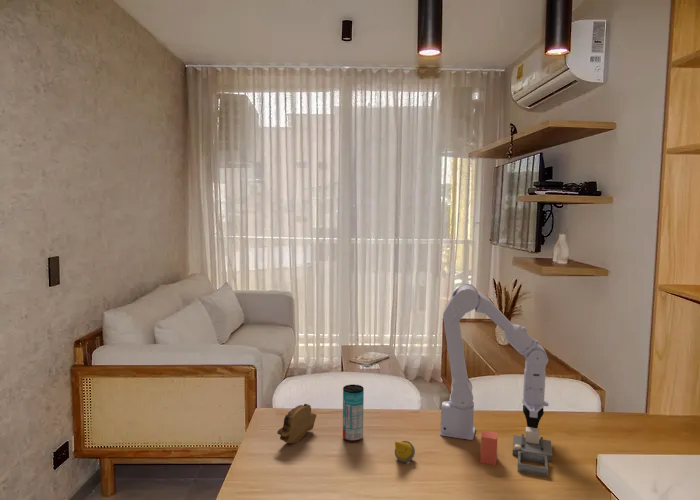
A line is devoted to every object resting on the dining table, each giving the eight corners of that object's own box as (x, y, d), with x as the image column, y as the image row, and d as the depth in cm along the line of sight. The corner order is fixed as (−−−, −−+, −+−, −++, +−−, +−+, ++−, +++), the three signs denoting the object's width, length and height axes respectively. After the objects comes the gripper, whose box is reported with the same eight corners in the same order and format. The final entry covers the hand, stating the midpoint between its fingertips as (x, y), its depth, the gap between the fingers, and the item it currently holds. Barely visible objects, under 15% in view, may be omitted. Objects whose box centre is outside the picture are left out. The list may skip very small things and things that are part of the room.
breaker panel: (512, 454, 140) (512, 446, 140) (513, 440, 149) (513, 432, 148) (552, 461, 137) (552, 452, 137) (550, 445, 145) (550, 438, 145)
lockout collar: (517, 471, 132) (517, 464, 131) (517, 458, 138) (518, 451, 138) (547, 476, 129) (547, 469, 129) (546, 462, 136) (546, 455, 136)
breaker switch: (525, 442, 144) (525, 431, 144) (525, 437, 147) (525, 426, 147) (539, 444, 143) (539, 433, 143) (538, 439, 146) (539, 428, 146)
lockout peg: (480, 462, 136) (481, 436, 135) (481, 455, 140) (482, 430, 139) (495, 464, 135) (496, 439, 134) (496, 457, 139) (497, 432, 138)
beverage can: (357, 432, 153) (358, 383, 152) (366, 440, 148) (367, 390, 146) (339, 435, 151) (339, 386, 149) (348, 444, 145) (348, 393, 144)
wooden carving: (304, 426, 157) (304, 394, 156) (317, 429, 155) (317, 397, 154) (274, 450, 142) (273, 415, 141) (288, 453, 140) (288, 418, 139)
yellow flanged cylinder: (420, 462, 137) (406, 448, 130) (402, 468, 138) (387, 455, 131) (416, 443, 140) (402, 429, 134) (398, 449, 142) (384, 435, 135)
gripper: (550, 397, 139) (547, 445, 141) (548, 379, 153) (545, 423, 154) (522, 393, 142) (520, 441, 143) (523, 376, 155) (521, 420, 157)
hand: (532, 431), depth 149 cm, fingers closed
